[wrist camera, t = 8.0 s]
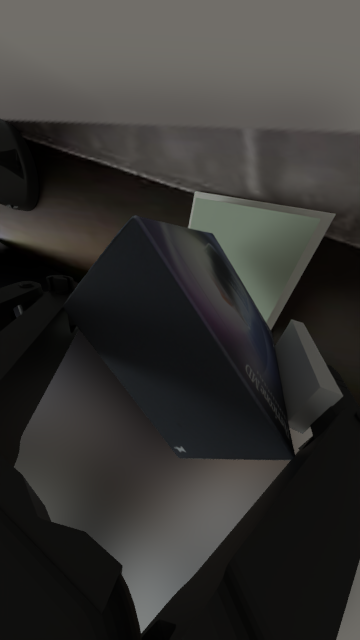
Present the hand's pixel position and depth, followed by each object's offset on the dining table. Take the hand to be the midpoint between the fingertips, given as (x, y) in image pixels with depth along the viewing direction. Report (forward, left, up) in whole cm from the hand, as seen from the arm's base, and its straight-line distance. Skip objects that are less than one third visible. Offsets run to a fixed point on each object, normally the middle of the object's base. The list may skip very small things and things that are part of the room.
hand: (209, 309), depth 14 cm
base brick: (0, 0, -16) cm, 16 cm away
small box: (0, 0, -2) cm, 2 cm away
